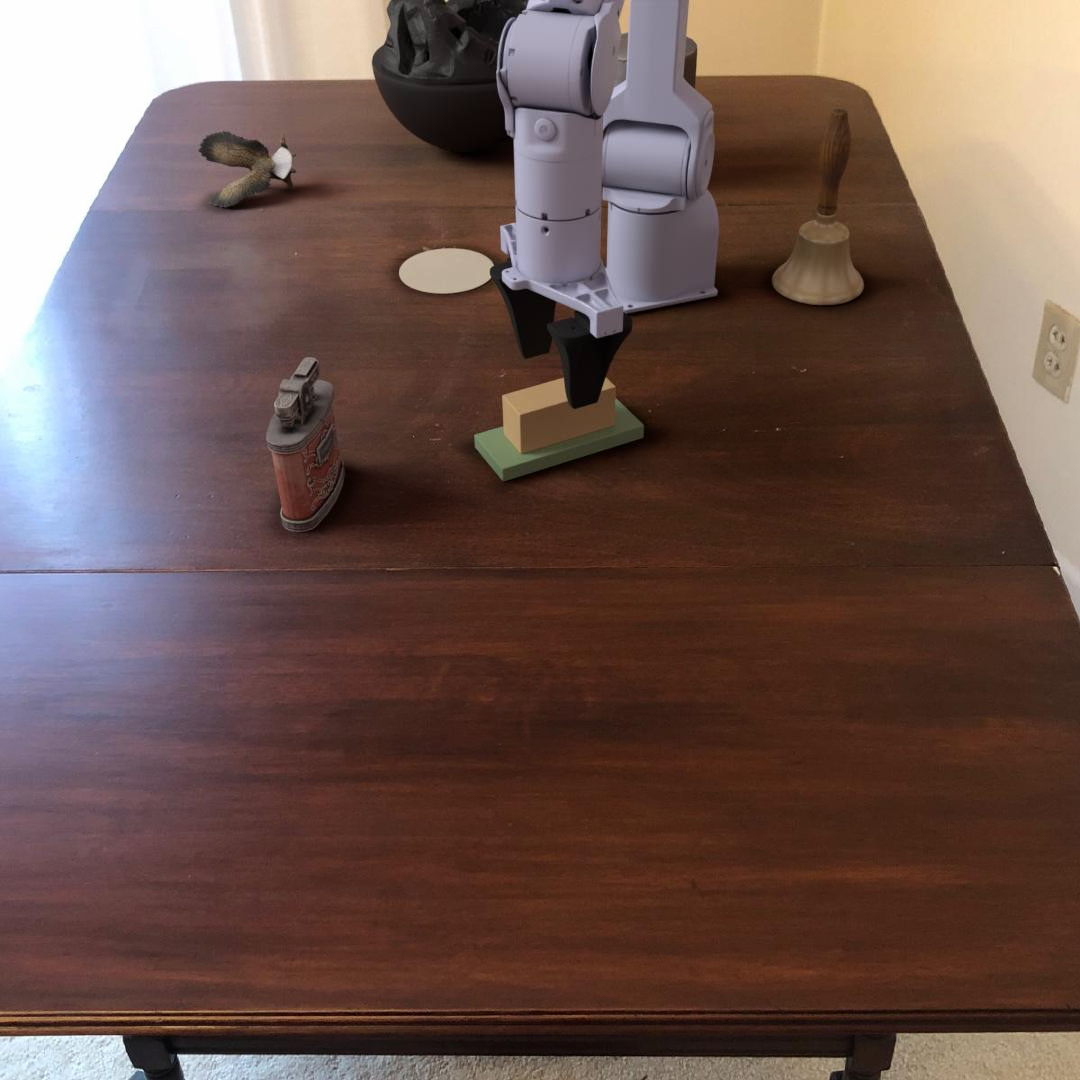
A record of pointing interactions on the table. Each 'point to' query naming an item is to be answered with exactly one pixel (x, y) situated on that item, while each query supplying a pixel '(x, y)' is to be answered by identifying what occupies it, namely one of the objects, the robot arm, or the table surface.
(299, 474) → the lighter
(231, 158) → the eagle figurine
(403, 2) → the bowl of black rocks
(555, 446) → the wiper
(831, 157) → the hand bell
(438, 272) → the spill
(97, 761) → the table surface
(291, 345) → the table surface
